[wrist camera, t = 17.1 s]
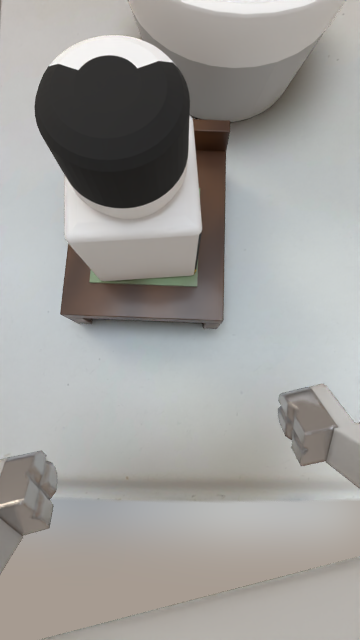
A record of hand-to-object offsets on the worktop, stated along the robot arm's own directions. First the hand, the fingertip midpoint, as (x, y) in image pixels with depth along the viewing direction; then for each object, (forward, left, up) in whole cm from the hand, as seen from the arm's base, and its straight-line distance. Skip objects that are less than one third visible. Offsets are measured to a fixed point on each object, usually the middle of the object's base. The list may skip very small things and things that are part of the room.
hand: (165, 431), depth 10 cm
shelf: (-3, +13, -15) cm, 20 cm away
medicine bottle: (-3, +12, -11) cm, 16 cm away
